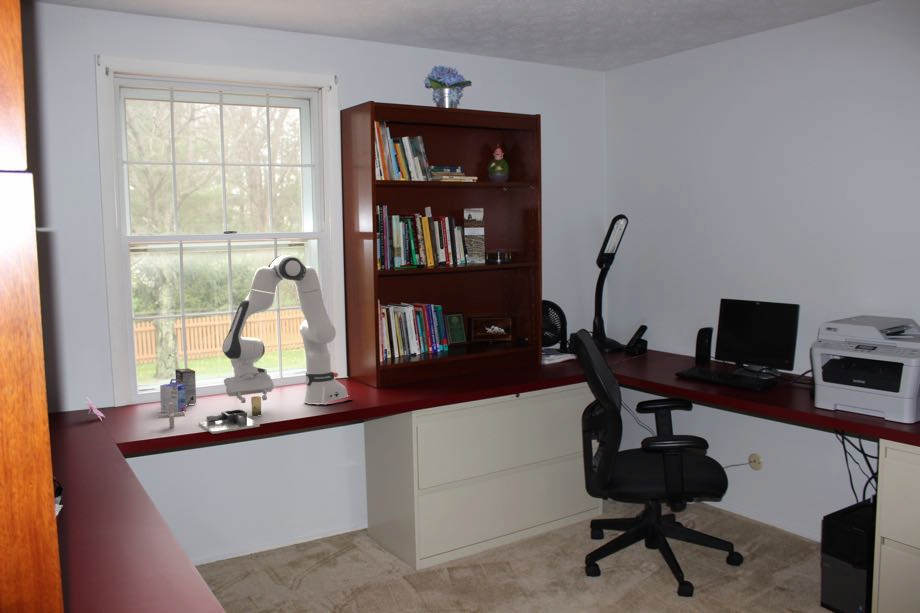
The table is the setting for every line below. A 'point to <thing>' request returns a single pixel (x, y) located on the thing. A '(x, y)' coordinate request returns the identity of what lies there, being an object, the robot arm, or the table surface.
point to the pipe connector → (171, 415)
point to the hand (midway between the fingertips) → (254, 400)
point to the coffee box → (187, 384)
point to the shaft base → (228, 422)
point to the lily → (93, 410)
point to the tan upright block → (256, 405)
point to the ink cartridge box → (173, 396)
